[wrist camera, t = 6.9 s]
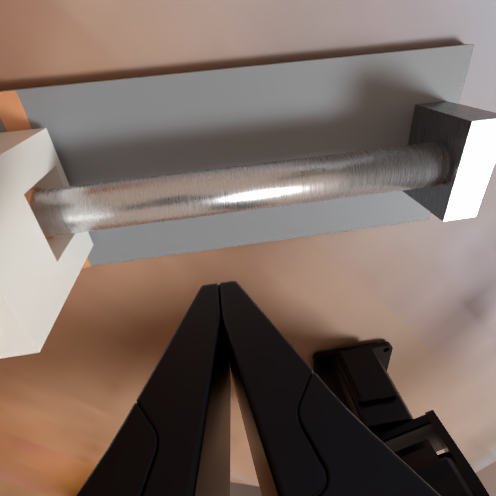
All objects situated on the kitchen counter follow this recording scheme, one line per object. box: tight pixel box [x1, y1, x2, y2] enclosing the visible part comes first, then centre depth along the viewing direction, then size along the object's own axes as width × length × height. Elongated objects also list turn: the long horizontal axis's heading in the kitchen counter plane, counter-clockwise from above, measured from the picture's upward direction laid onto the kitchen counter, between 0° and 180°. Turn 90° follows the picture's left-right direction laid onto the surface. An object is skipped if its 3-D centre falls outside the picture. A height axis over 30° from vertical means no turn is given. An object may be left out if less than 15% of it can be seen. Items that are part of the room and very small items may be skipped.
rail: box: [24, 101, 496, 239], centre depth 15 cm, size 30×4×4 cm, turn 95°
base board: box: [0, 44, 474, 268], centre depth 16 cm, size 31×9×1 cm, turn 95°
